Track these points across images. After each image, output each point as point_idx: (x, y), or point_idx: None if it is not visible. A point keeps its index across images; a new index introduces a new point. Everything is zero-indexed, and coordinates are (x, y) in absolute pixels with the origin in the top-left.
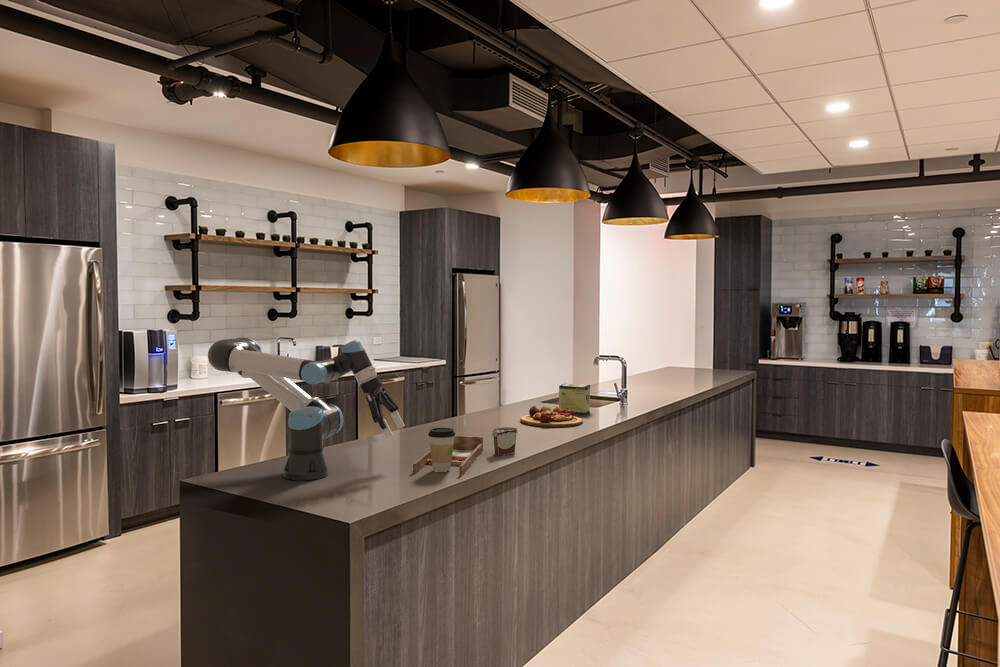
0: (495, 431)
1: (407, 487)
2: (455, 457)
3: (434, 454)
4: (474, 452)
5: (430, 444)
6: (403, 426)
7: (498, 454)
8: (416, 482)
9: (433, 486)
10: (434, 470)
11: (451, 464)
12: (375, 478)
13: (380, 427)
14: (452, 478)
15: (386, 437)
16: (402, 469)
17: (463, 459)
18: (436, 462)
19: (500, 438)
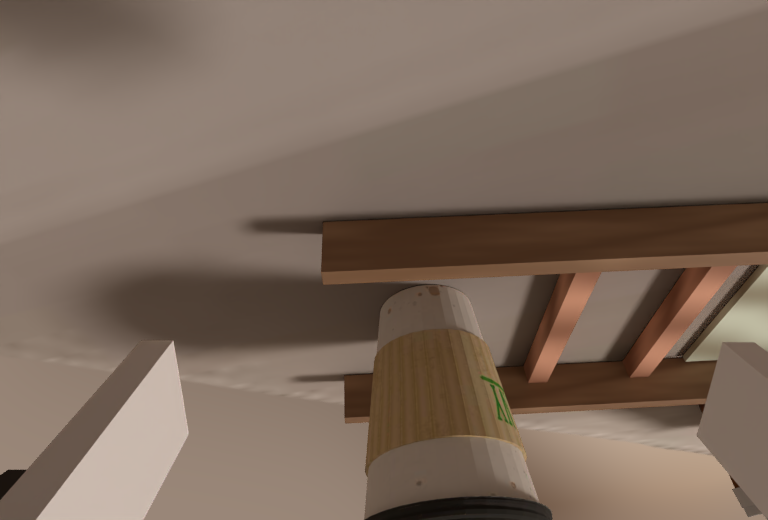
0: (761, 513)
1: (19, 276)
2: (660, 327)
3: (377, 394)
4: (630, 407)
5: (400, 440)
6: (700, 423)
7: (700, 409)
8: (141, 283)
9: (124, 347)
10: (391, 302)
11: (541, 325)
12: (49, 23)
13: (17, 483)
14: (291, 367)
15: (140, 354)
16: (415, 132)
17: (641, 343)
18: (376, 356)
19: None
